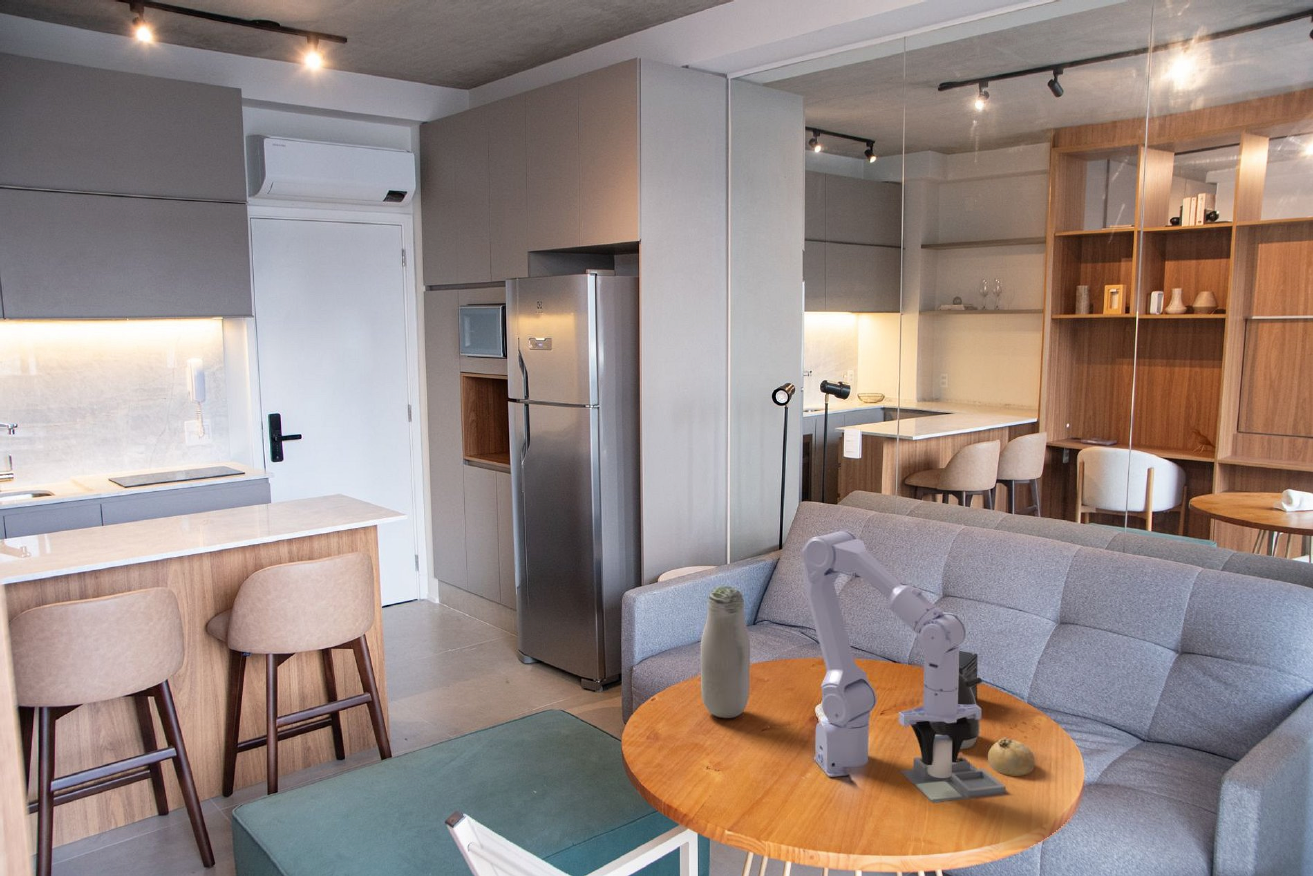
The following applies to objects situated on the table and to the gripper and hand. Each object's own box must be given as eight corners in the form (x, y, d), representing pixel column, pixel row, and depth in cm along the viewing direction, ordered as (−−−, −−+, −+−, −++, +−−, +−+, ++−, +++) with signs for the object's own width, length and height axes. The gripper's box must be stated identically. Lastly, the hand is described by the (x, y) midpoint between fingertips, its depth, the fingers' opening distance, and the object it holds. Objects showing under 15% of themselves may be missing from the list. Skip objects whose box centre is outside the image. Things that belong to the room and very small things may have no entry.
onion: (1001, 761, 178) (1002, 725, 177) (1042, 775, 172) (1043, 738, 171) (979, 775, 172) (980, 737, 171) (1021, 790, 166) (1022, 751, 166)
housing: (932, 811, 159) (932, 789, 159) (899, 778, 171) (900, 758, 170) (1006, 802, 162) (1007, 781, 161) (969, 771, 174) (970, 751, 173)
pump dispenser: (983, 760, 178) (985, 683, 176) (926, 756, 180) (928, 679, 178) (976, 738, 188) (978, 664, 186) (922, 734, 190) (924, 661, 188)
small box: (949, 693, 212) (950, 648, 211) (978, 699, 208) (979, 653, 207) (932, 708, 203) (933, 661, 202) (962, 714, 199) (964, 667, 198)
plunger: (951, 771, 169) (951, 756, 168) (943, 764, 171) (943, 750, 171) (965, 770, 169) (965, 755, 169) (957, 763, 172) (957, 748, 172)
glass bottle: (692, 717, 200) (691, 588, 197) (721, 702, 207) (721, 578, 204) (730, 729, 193) (729, 596, 190) (758, 713, 201) (758, 586, 198)
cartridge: (934, 779, 160) (935, 742, 159) (923, 769, 164) (923, 733, 163) (956, 776, 161) (956, 740, 160) (943, 766, 165) (944, 730, 164)
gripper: (912, 697, 156) (911, 776, 157) (991, 690, 158) (989, 767, 160) (893, 682, 162) (892, 757, 164) (969, 675, 165) (968, 749, 167)
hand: (939, 761), depth 162 cm, fingers closed on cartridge, 4 cm apart
